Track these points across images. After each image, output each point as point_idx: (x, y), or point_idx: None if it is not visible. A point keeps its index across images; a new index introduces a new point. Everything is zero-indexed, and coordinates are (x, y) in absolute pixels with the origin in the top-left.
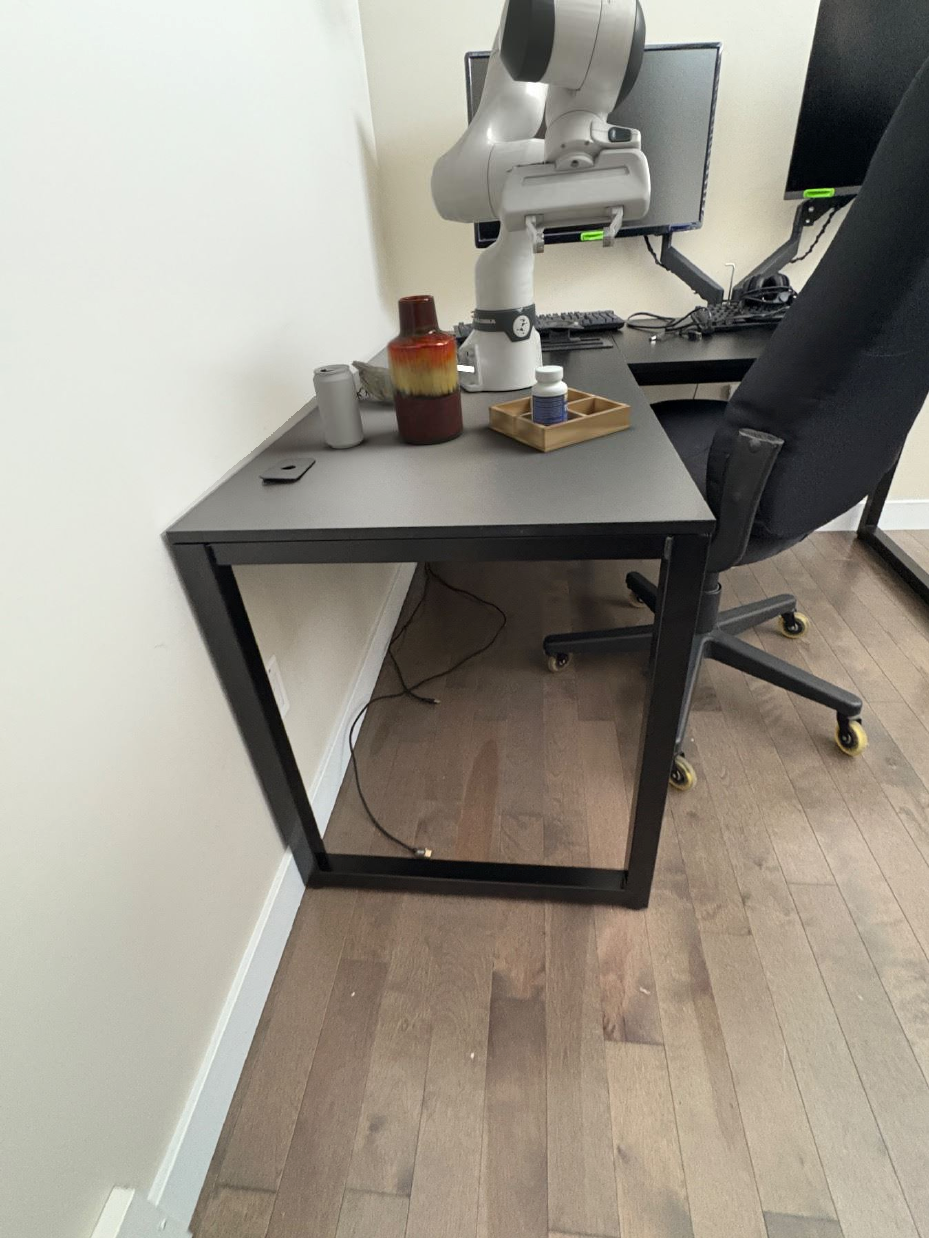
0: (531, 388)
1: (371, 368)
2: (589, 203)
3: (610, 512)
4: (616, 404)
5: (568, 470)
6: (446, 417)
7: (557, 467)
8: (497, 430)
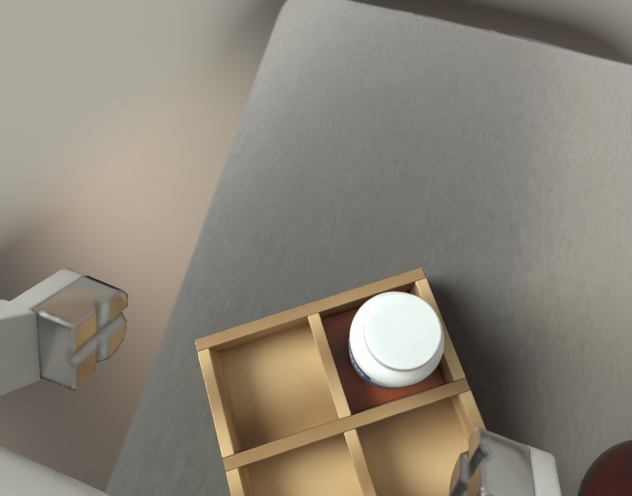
0: (442, 351)
1: None
2: (28, 469)
3: (388, 32)
4: (214, 369)
5: (397, 182)
6: None
7: (411, 201)
8: None
